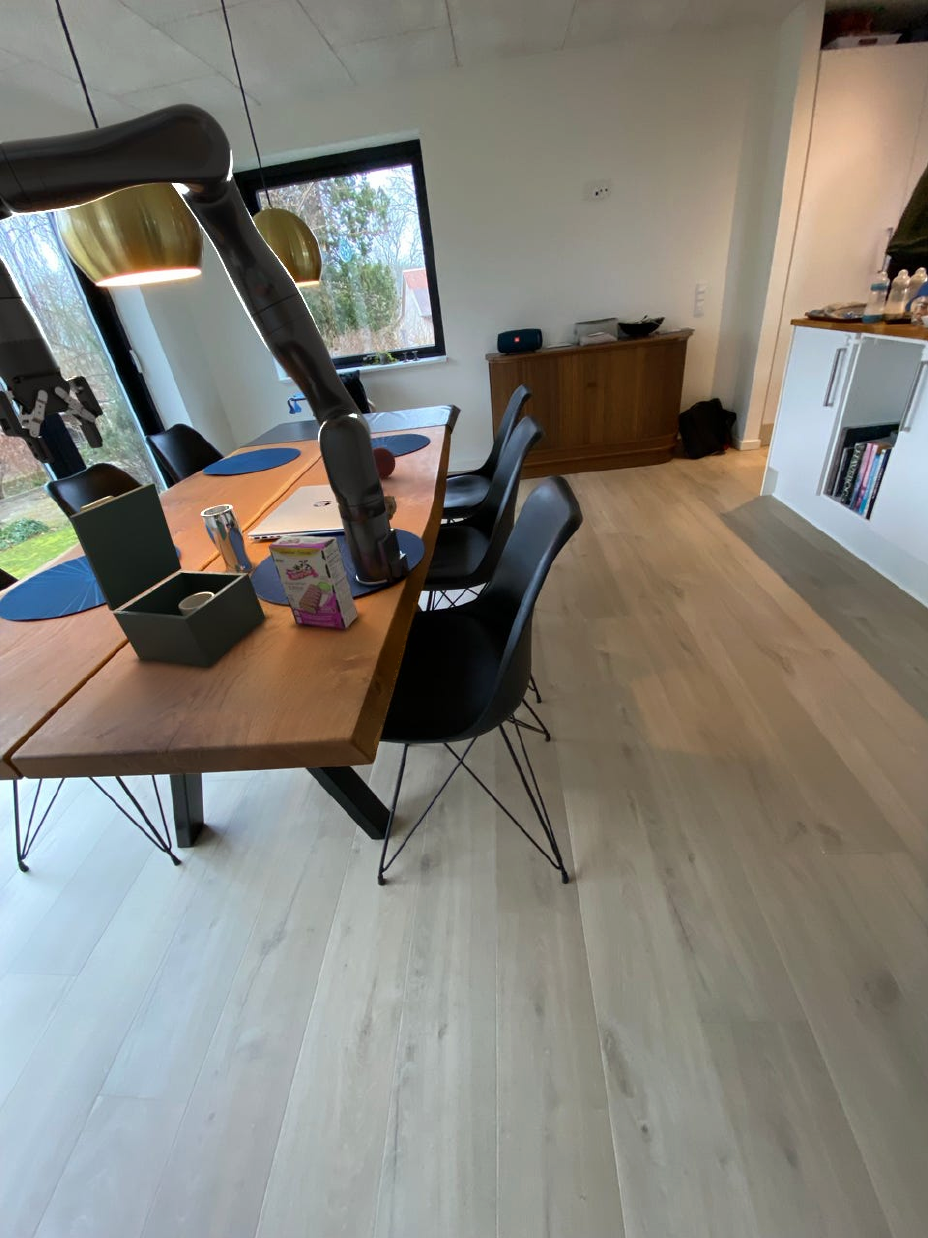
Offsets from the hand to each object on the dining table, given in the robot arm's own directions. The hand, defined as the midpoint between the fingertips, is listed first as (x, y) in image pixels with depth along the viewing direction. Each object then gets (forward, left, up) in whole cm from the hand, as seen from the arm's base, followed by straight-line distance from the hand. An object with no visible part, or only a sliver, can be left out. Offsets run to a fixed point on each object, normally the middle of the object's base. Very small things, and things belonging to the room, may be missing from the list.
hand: (73, 454), depth 81 cm
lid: (-3, 0, -16) cm, 16 cm away
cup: (-12, 0, -34) cm, 36 cm away
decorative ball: (-1, -95, -35) cm, 101 cm away
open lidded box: (-9, 0, -35) cm, 36 cm away
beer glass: (+4, -27, -35) cm, 44 cm away
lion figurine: (-21, -49, -35) cm, 63 cm away
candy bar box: (-31, -9, -35) cm, 47 cm away
